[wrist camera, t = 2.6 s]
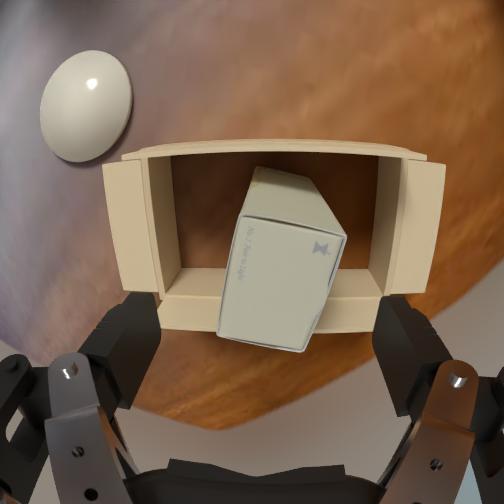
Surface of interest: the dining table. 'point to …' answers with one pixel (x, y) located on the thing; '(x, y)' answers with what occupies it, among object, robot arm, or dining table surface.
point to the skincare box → (279, 263)
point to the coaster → (86, 106)
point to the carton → (212, 279)
